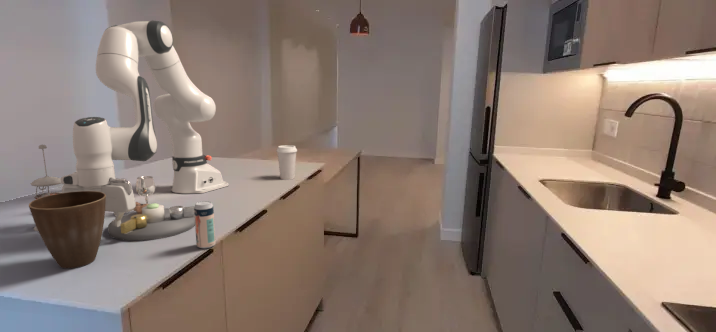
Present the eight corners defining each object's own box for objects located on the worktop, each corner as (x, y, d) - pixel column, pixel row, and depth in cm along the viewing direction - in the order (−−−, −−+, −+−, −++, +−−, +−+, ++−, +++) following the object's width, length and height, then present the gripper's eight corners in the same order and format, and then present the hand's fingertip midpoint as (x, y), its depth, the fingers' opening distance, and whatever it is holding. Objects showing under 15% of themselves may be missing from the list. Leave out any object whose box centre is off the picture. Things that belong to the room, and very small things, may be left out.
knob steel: (169, 219, 124) (168, 209, 124) (170, 215, 128) (169, 205, 127) (199, 216, 127) (198, 206, 127) (199, 213, 131) (198, 203, 130)
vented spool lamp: (41, 233, 118) (29, 148, 113) (24, 226, 124) (12, 144, 119) (79, 224, 126) (69, 144, 121) (61, 217, 132) (51, 140, 127)
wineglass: (138, 215, 135) (134, 180, 133) (138, 210, 140) (135, 176, 138) (157, 213, 138) (154, 178, 135) (157, 208, 143) (154, 175, 140)
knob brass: (138, 223, 121) (137, 213, 120) (150, 224, 120) (149, 213, 119) (116, 233, 112) (115, 222, 112) (129, 234, 112) (128, 223, 111)
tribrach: (173, 209, 142) (172, 190, 141) (211, 225, 127) (210, 204, 125) (95, 227, 124) (93, 205, 122) (129, 247, 109) (126, 223, 107)
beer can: (199, 242, 113) (196, 200, 110) (217, 242, 113) (215, 200, 111) (194, 249, 108) (191, 206, 106) (212, 249, 108) (210, 205, 106)
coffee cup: (302, 177, 193) (301, 146, 190) (288, 181, 185) (287, 148, 182) (286, 175, 198) (286, 144, 195) (272, 178, 190) (271, 146, 187)
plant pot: (92, 275, 93) (83, 207, 90) (22, 277, 92) (11, 208, 89) (123, 249, 107) (117, 190, 104) (64, 250, 106) (55, 191, 103)
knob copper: (153, 214, 129) (152, 204, 128) (140, 217, 126) (139, 207, 125) (142, 209, 134) (141, 199, 134) (129, 211, 131) (128, 202, 131)
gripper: (138, 176, 114) (142, 223, 116) (74, 173, 117) (80, 219, 120) (121, 181, 108) (127, 231, 110) (54, 177, 111) (61, 226, 114)
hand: (102, 225), depth 115 cm, fingers open, 8 cm apart
